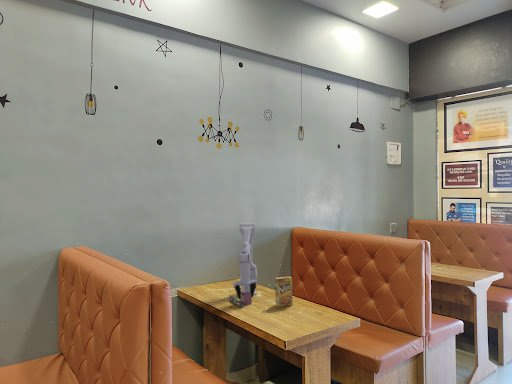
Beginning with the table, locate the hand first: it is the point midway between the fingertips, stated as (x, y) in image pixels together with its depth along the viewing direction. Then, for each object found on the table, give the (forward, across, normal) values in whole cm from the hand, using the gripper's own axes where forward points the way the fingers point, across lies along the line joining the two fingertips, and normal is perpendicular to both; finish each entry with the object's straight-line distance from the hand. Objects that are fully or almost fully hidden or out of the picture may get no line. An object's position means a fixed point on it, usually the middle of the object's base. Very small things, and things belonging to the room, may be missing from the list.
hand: (245, 297), depth 206 cm
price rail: (+3, -6, +1) cm, 6 cm away
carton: (+3, 0, 0) cm, 3 cm away
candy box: (+3, +17, -14) cm, 23 cm away
